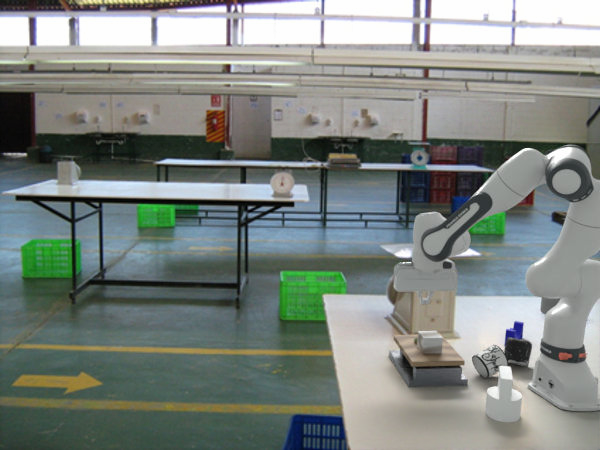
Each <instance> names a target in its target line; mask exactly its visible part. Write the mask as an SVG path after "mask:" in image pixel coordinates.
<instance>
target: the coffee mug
mask: <svg viewBox="0 0 600 450" xmlns="http://www.w3.org/2000/svg"><path fill="white" fill-rule="evenodd" d="M540 298H541V300H540V301H541V302H540V310H539V311H540V312H541V313H543V314H545V315H546V313H547V312H548V311H549V310H550V309H552V308H553V307H554V306H556V305H557V303H558V302H559V301H560V299H561V298H554V299H549V298H543V297H540Z"/></svg>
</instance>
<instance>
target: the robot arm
mask: <svg viewBox="0 0 600 450" xmlns="http://www.w3.org/2000/svg"><path fill="white" fill-rule="evenodd" d="M591 161H592V160H591V157H590V154H589V153H588V151H586V150H585V149H584V148H583V147H581V146H579V145H576V144H567V145H563V146H560V147H556V148H553V149H550V150H546V151H545V153H544V154H543V153H542V152H540V151H539V150H537V149H534V148H531V147H530V148H529V147H527V148H523V149H521V150H520V151H518V152H517V153H515V154H514V155H512V156H511V157H510V158H509V159H508V160H506V161H505V162H504V163H502V164H501V165H500V166H499V168H497V169H496V170H495V172H493V173H492V174H491V176H490V177H488V179H487V180H486V181H485V182H484V183H483V184H482V185H481V186H480V187H479V189H478V190H477V191H476V192H475V193H474V194H473V195H472V196H471V197H470V198H469V199H468V200H466V202H465V203H463V205H461V206H460V207H459V208H458V209H456V210H455V211H454V212H453V213H452V214H451V215H450V216H449V217H448V218H446V217H444V216H443V215H442V214H441V213H440V212H438V211H428V212H422V213H419V214H417V215H416V216H415V218H414V220H413V229H412V240H413V248H412V252H411V253H412V254H411V258H412V259H411V261H410V262H409V261H408V262H406V261H405V262H403V261H402V262H399V263H396V264H395V265H394V267H393V275H394V278H393V286H392V287H393V288H394V290H395V291H396V292H398V293H400V292H401V293H403V292H404V293H405V292H408V293H409V292H410V293H411V292H415V293H416V294H417V297H418V298H419V304H420V305H421V306H423V305H424V306H425V305H426V306H427V305H431V300H432V298H433V296H434V292H445V291H446V292H454V291H456V290H457V289H458V274H457V272H456V270H455V268H456V263H455V262H454V261H452V260H451V259H450V258H452V257H455V256H458V255H459V256H460V255H461V254H463V253H466V252H467V251H468V250H469V249H470V247H471V244H472V237H471V236H472V235H471V233H470V231H469V230H470V229H472V227H474V226H475V224H478V223H479V222H481V221H482V220H484V219H486V218H488V217H491V216H494V215H496V214H500V213H504V212H507V211H509V210H510V209H512V208H514V207H515V206H517V205H518V204H519V203H521V202H522V201H524V199H525V198H526V197H528V195H529V194H531V193H532V192H533V190H534V189H536V188H538V187H540V186H541V185H546V186H547V188H548V189H549V190H550V192H551V193H552V194H554V195H555V196H557V197H559V198H563V199H565V200H567V201H568V202H570V203H569V206H568V209H567V212H566V216H565V218H564V222H563V224H562V225H563V226H562V228H561V231H560V233H559V236H558V237H557V239H556V241H555V243H554V244H553V246H552V247H551V248H550V249H549V251H547V253H546V254H545V255H544V256H542V257H541V258H540V259H539V260H537V261H535V262H534V263H532V264H530V266H529V267H528V268H527V269H526V271H525V272H526V273H525V277H524V279H525V280H524V282H525V285H526V288H527V290H528V291H529V293H530V294H531V295H532V296H535V297H538V298H542V297H543V298H549V299H554V298H561V299H560V301H559V302H558V303H557V305H556V306H554V307H553V308H552V309H550V310H549V311H548V312H547V313H546V314H545V316H544V322H543V334H542V338H541V340H540V343H539V344H540V345H539V346H540V347H539V350H540V353H539V356H538V357H537V359H535V363H534V368H533V372H532V373H533V374H532V379H531V381H530V382H528V384H527V388H528V389H529V390H531V391H532V392H534V393H535V394H537V395H538V396H540V397H542V398H543V399H545V400H546V401H547V402H549V403H551V404H552V405H554V406H556V407H557V408H559V409H561V410H565V411H572V412H596V411H600V394H599V386H598V385H599V377H598V376H595V375H594V374H593V372H592V370H591V368H590V366H589V365H588V363H587V361H586V360H587V358H588V356H587V355H588V353H587V351H586V347H585V344H584V341H585V334H586V327H587V321H588V318H589V317H590V313H591V311H592V310H593V308H594V306H595V305H596V303H597V302H598V300H599V299H600V260H597V259H592V258H591V257H594V255H597V254H598V252H600V179H596V177H595V178H594V176H593V175H592V162H591ZM590 258H591V259H590ZM423 292H427V296H426V297H422V296H423Z"/></svg>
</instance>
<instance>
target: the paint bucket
mask: <svg viewBox="0 0 600 450" xmlns="http://www.w3.org/2000/svg"><path fill="white" fill-rule="evenodd" d="M532 349H533V344H532V342H530V340H526V339H523V338H522V339H520V340H519V339H517V338H511V337H508V338H507V340H506V344H505V343H504V350H503V349H502V348H501V347H500V346H499V345H497V344H492V345H490V346H488V347H486V348H485V349H483V350H481V351H478V353H475V354H474V355H472V357H471V361H472V365H473V367H474V369H475V370H476V372H477V373H478V374H479V376H481V377H482V378H484V379H488V378H490V377H492V376H493V375H496V374H497V373H499V366H508V367H509V364H512V365H518V366H523V367H527V368H528V367H529V365H530V358H531V354H532V351H533V350H532Z"/></svg>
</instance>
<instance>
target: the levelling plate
mask: <svg viewBox="0 0 600 450" xmlns="http://www.w3.org/2000/svg"><path fill="white" fill-rule="evenodd" d="M393 341H394V342H395V344H396V345H397V347H398V349H399V350H401V351H402V353H403V354H404V356H405V357H406V359H407V360H408V361H409V363H410V364H411V366H412V367H420V366H459V365H460V366H465V362H466V361H465V359H464V358H463V357H462V355H460V354H459V353H458V352H457V351H456V349H455V348H454V347H453V346H452V345H451V343H449V341H447V340H446V338H445V337H444V336H443V335H442V334H441V333H439V332H438V330H418V331H417V334H394V335H393Z"/></svg>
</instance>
